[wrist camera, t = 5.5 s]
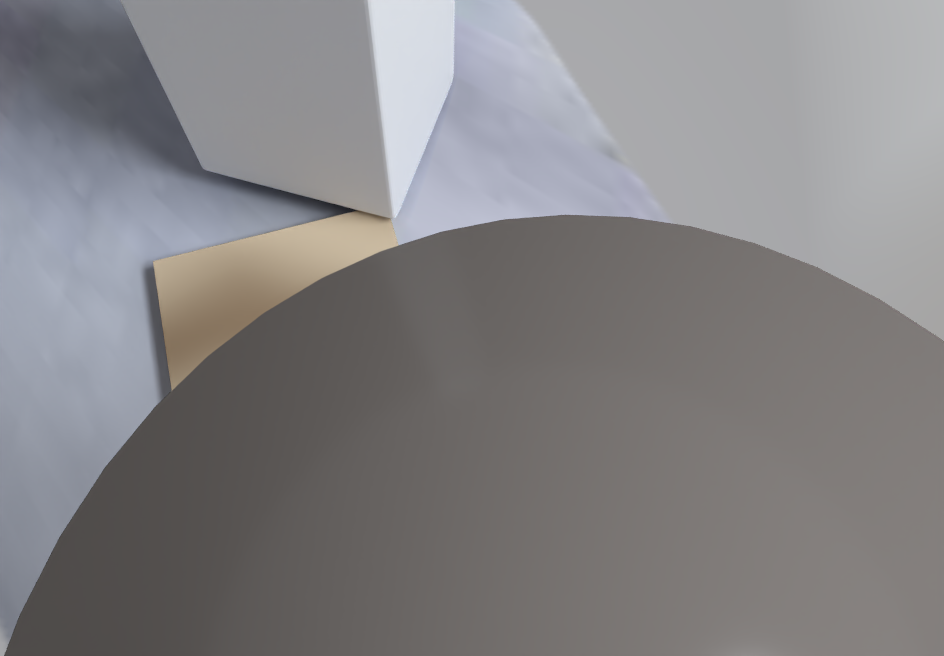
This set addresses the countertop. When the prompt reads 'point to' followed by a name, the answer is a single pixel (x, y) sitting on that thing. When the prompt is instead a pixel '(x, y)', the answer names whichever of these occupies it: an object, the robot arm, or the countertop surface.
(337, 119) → the milk carton
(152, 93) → the countertop surface
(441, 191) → the countertop surface
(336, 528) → the spice jar
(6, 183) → the countertop surface
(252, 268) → the cork mat
